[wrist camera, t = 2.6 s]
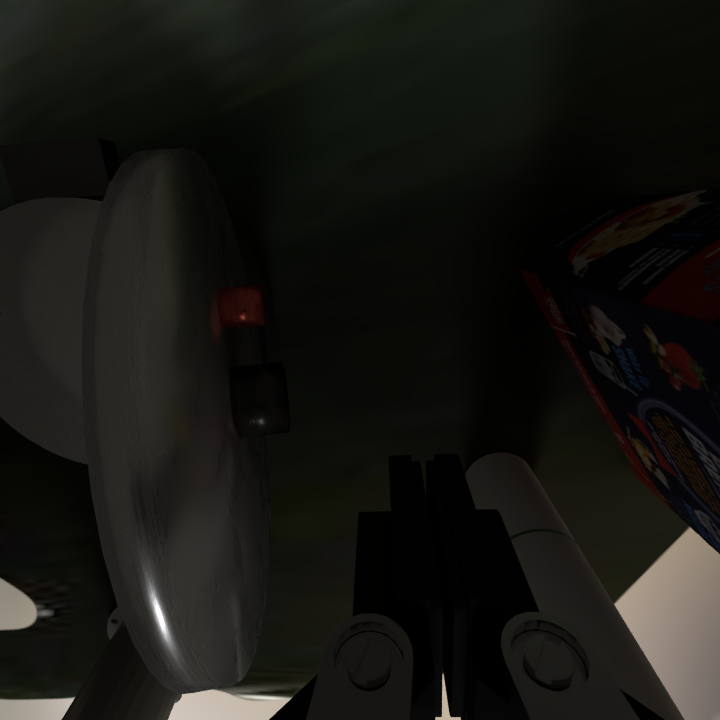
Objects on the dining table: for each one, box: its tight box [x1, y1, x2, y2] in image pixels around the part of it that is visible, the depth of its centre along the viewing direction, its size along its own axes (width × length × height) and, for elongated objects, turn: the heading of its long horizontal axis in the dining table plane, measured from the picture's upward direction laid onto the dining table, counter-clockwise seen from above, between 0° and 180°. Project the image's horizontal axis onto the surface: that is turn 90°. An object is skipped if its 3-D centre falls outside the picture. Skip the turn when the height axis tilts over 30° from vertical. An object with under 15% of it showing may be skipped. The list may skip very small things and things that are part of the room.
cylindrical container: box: [465, 452, 684, 720], centre depth 32 cm, size 7×7×25 cm
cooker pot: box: [0, 138, 274, 464], centre depth 32 cm, size 24×20×12 cm
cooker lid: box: [81, 148, 290, 694], centre depth 18 cm, size 19×19×3 cm
